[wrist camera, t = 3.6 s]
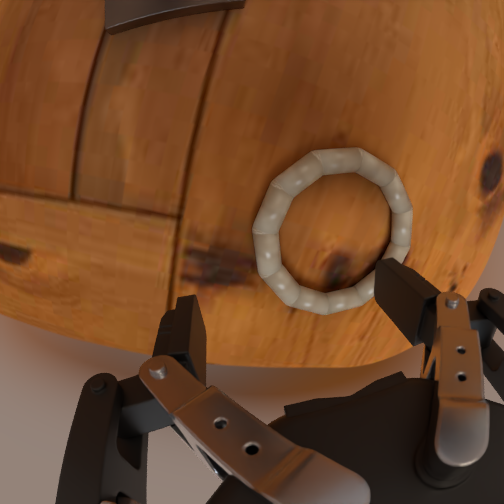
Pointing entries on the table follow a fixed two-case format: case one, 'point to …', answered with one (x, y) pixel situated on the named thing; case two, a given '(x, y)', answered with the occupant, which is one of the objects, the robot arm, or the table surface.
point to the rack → (157, 11)
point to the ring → (278, 206)
